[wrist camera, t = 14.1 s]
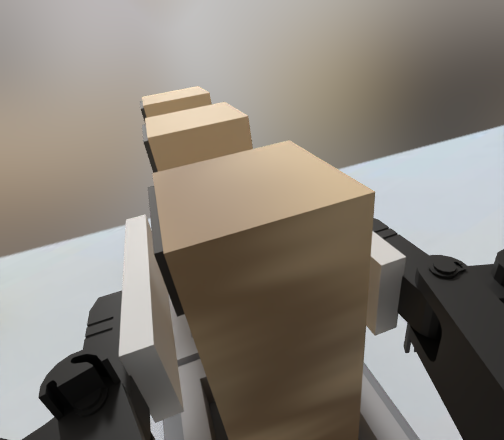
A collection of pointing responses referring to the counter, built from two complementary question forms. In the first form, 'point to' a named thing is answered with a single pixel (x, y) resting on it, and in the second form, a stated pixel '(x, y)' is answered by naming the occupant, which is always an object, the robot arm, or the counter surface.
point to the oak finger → (270, 286)
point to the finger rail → (189, 363)
